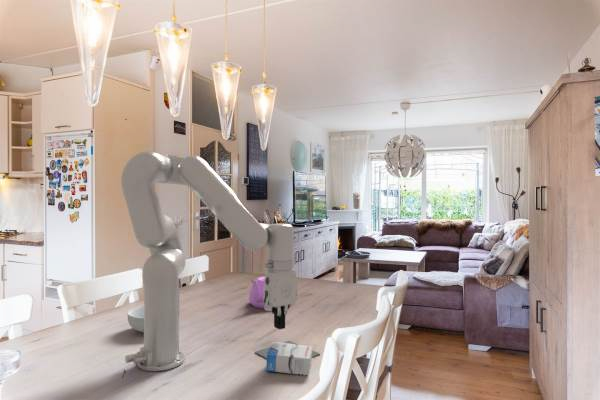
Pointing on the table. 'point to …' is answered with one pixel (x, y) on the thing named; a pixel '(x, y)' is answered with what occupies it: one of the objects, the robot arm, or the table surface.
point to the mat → (265, 351)
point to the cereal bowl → (136, 318)
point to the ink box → (289, 358)
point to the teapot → (257, 293)
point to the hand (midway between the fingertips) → (279, 327)
